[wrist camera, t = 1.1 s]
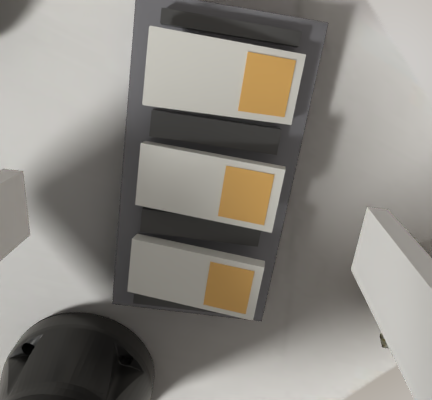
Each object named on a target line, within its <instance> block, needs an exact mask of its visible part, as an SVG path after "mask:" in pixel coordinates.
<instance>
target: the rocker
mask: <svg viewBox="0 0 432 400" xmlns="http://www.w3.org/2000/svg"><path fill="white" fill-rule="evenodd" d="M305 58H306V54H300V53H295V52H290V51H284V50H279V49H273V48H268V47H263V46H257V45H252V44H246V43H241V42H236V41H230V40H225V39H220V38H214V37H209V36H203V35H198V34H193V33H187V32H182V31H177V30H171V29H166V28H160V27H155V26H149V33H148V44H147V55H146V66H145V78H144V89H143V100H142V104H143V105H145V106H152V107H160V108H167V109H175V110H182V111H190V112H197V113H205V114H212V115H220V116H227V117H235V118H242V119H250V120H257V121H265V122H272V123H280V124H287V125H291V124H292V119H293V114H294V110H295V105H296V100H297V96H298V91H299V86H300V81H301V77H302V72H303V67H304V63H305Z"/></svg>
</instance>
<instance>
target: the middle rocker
mask: <svg viewBox="0 0 432 400" xmlns="http://www.w3.org/2000/svg"><path fill="white" fill-rule="evenodd" d="M284 174H285V166H280V165H275V164H269V163H264V162H259V161H253V160H248V159H242V158H237V157H231V156H226V155H221V154H215V153H210V152H204V151H199V150H194V149H188V148H183V147H177V146H172V145H166V144H161V143H156V142H150V141H144V142H142V143H141V145H140V156H139V167H138V178H137V189H136V200H135V205H139V206H144V207H148V208H153V209H158V210H163V211H168V212H173V213H178V214H183V215H187V216H192V217H197V218H202V219H207V220H212V221H217V222H221V223H226V224H231V225H236V226H241V227H246V228H251V229H256V230H260V231H265V232H270V233H272V230H273V226H274V221H275V216H276V212H277V207H278V202H279V198H280V193H281V188H282V184H283V179H284Z"/></svg>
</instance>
